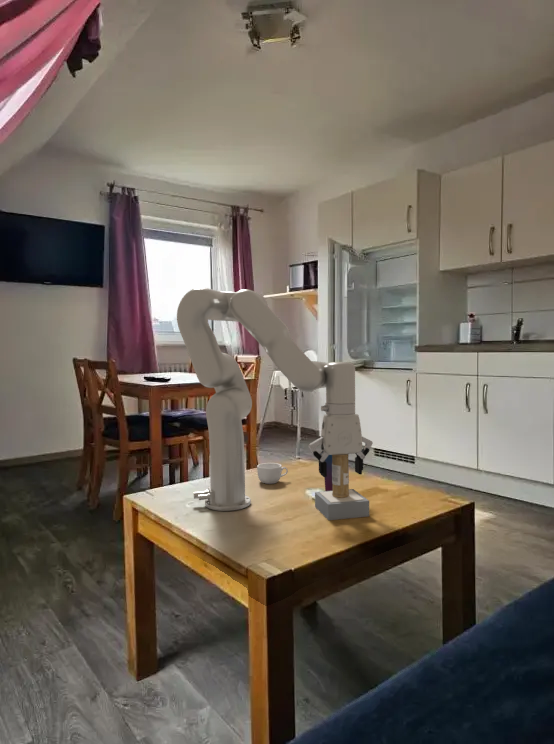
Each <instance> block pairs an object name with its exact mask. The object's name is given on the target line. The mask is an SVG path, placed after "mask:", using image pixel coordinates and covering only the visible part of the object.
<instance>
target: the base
mask: <svg viewBox="0 0 554 744" xmlns="http://www.w3.org/2000/svg"><path fill="white" fill-rule="evenodd" d="M332 492H333V491H325V490H324V491H315V492H314V507H315V508H316V509H317V510H318V512H320V514H322V515H323V517H325V519H326V520H328V521H334V520H335V521H336V520H344V519H354V518H355V519H356V518H357V519H358V518H364V517H370V500H369V499H367V498H366V497H364V496H363V495H362V494H361V493H359V492H358V491H356V490H355V488H351V489H350V488H349V496H348V497H345V498H338V497H334V496H333V495H332Z"/></svg>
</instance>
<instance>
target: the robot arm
mask: <svg viewBox="0 0 554 744" xmlns="http://www.w3.org/2000/svg"><path fill="white" fill-rule="evenodd" d="M209 321H219V322H220V321H221V322H222V321H223V322H224V321H225V322H239V324H241V325H242V327H243V328H244V329H245V330H246V331H247V332H248V333H249V334H250V335H251V337H252V338H254V339H255V341H256V342H257V343H258V344H259V345H260V346H261V347H262V348H263V349H264V351H265V353H266V354H267V355H268V357H269V358H270V359H271V361H272V362H273V364H274V365H275V366H276V367H277V369H278V370H279V371H280V373H282V374H283V376H285V378H286V379H288V381H289V382H290V383H291V384H292V386H294V387H295V388H297V389H298V390H300V391H302V392H305V393H309V392H314V391H316V390H318V389H322V388H323V389H325V401H326V402H325V403H324V405H321V406H320V411H321V412H325V414H323V418H322V423H321V424H322V425H321V431H320V432H321V433H320V437H318V438H317V439H315V440H313V441H312V442H310V443H309V444H308V445H307V446H308V448H309V450H310V452H311V454H312V455H313V456H314V457H315V458H316V459H317V460H318V473H319V474H320V476H322V477H323V478H324V477H327V463H326V462H325V459H326V458H327V457H328V455H340V454H348V455H350V454H351V455H352V454H355V455H356V456H355V457H354V472H355V473H357V474H358V475H362V474H363V471H364V460H365V458H366V456H368V454H369V453H370V450H371V448H372V446H373V441H372V440H370V439H368V438H366V437H364V436H363V435H362V426H361V419H360V416H359V414H357V413H356V367H355V364H354V363H353V362H348V361H332V362H323V361H318V360H317V361H316V360H315V361H314V360H311V359H310V358H309V357H308V356H307V355H306V354H305V353H304V352H303V351H302V349H300V347H299V346H298V345H297V344H296V342H295V341H294V339H293V337H292V335H291V332H290V329H289V328H288V326H287V324H286V323H285V322H283V320H282V319H280V317H279V316H278V315H277V314H276V313H275V312H274V311H273V310H272V309H271V308H270V307H269V305H268V301H267V299H266V298H265V297H264V296H263V295H262V294H260V293H259V292H258V291H254V290H251V289H247V288H246V289H244V288H243V289H240V290H238V291H236V292H235V291H222V290H221V291H219V290H217V289H216V290H215V289H212V288H209V287H195V288H192V289H190V290H189V291H187V292H186V294H185V295H183V297H182V298H181V300H180V302H179V304H178V306H177V311H176V323H177V326H178V329H179V333H180V335H181V338H182V340H183V343H184V345H185V348H186V351H187V353H188V356H189V359H190V362H191V364H192V367H193V370H194V372H195V376H196V377H197V379H198V381H199V383H200V384H201V385H202V386H204V387H205V388H209V389H212V388H214V391H215V393H214V394H213V395H211V397H210V398H209V400H208V401H207V403H206V408H205V410H206V411H205V414H206V415H205V416H206V417H205V418H206V422H207V427H208V440H209V441H208V443H209V445H208V446H209V449H208V450H209V475H210V476H209V480H210V481H209V483H210V486H208V487H207V488H208V489H204V491H202V490H201V491H200V490H199V491H198V490H197V491H193V499H198V501H204V506H205V507H206V508H208V509H209V510H212V511H219V512H229V511H238V510H242V509H245V508H248V506H250V505H251V504H252V501H251V500H252V499H251V497H250V496H248V495H246V471H245V467H246V466H245V436H244V435H245V434H244V430H243V429H244V428H243V423H242V420H244V419H245V418H246V417H247V416H248V415H249V414H250V413H251V411H252V407H253V400H252V396H251V393H250V390H249V387H248V386H247V385H248V384H247V383H246V380H245V378H244V377H245V376H244V375H243V372H242V370H241V367H240V365H239V364H238V362H237V361H236V359H235V358H234V357H233V356H232V355H230V354H228V353H224V352H222V350H221V348H220V345H219V343H218V341H217V338H216V335H215V333H214V331H213V330H212V328H211V326H210V325H209ZM363 443H364V447H363ZM318 446H320V449H321V451H320V452H318V450H317V447H318Z"/></svg>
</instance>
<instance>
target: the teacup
mask: <svg viewBox="0 0 554 744" xmlns="http://www.w3.org/2000/svg"><path fill="white" fill-rule="evenodd" d="M283 470H286V472H285V473H283V474H282V472H283ZM256 471H257V472H256V473H257V477H258V480H259V481H260V482H261V483H263V484H264V483H265V484H266V485H273V484H277V483H278V482H279V481H280V479H281V478H282V477H284V476H286V475H287V474H288V473H289V471H288V468H287V467H286V466H282V464H281V463H277V462H264V463H263V462H262V463H259V464H258V465H256Z"/></svg>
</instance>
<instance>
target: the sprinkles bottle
mask: <svg viewBox="0 0 554 744" xmlns="http://www.w3.org/2000/svg"><path fill="white" fill-rule="evenodd" d="M349 468H350V465H349V454H340V455H332V484H333V492H332V495H333V496H334V497H338V498H345V497H348V496H349V489H350V487H349V486H350V485H349V483H350V479H349V477H350V476H349V475H350V474H349V472H350V470H349Z"/></svg>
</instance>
